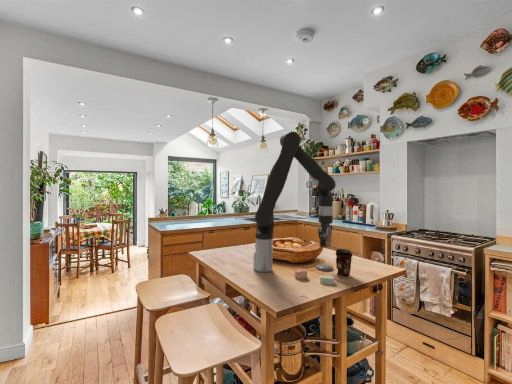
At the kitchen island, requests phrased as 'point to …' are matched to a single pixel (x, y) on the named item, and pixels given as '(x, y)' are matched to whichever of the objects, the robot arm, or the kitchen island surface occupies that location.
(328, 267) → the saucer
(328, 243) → the walnut block
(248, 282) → the kitchen island surface
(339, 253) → the coffee cup
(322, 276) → the sage block
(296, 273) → the small brown block
